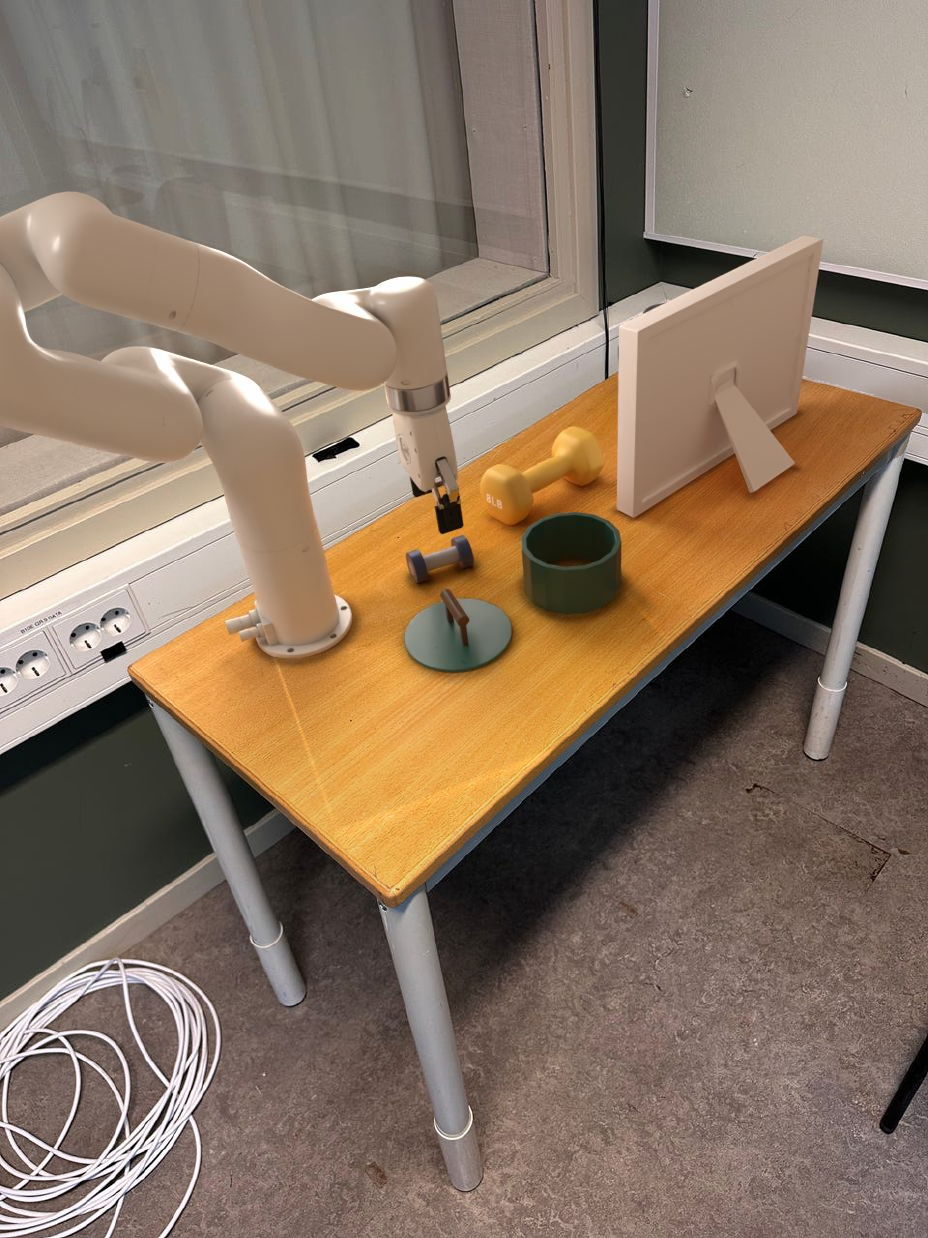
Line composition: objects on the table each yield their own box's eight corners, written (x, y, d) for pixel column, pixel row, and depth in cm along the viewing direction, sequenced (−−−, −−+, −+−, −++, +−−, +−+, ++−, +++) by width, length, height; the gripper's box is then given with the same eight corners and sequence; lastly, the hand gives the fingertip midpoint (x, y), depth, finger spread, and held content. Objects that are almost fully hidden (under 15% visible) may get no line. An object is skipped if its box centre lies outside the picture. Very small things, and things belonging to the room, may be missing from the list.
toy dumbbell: (419, 588, 118) (412, 558, 116) (409, 576, 122) (403, 548, 120) (476, 570, 120) (470, 540, 118) (465, 559, 124) (459, 530, 122)
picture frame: (780, 407, 147) (804, 234, 129) (849, 430, 139) (885, 250, 121) (616, 510, 129) (618, 325, 111) (686, 543, 121) (700, 350, 103)
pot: (550, 628, 110) (547, 581, 106) (509, 575, 120) (505, 529, 115) (637, 598, 113) (639, 550, 108) (591, 548, 122) (591, 502, 118)
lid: (426, 690, 104) (420, 653, 101) (391, 624, 114) (384, 589, 110) (530, 653, 107) (527, 616, 104) (487, 593, 117) (483, 557, 113)
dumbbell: (515, 537, 126) (512, 488, 121) (475, 513, 132) (470, 464, 127) (610, 484, 134) (610, 436, 129) (568, 463, 140) (567, 416, 135)
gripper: (365, 371, 110) (389, 488, 121) (411, 429, 97) (434, 555, 108) (422, 354, 111) (441, 472, 122) (475, 410, 98) (490, 535, 110)
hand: (437, 511), depth 115 cm, fingers open, 9 cm apart
